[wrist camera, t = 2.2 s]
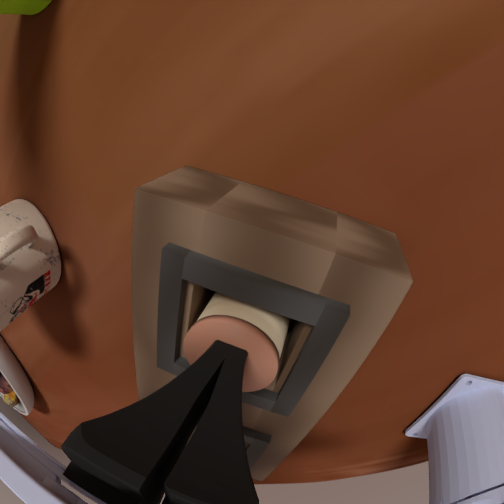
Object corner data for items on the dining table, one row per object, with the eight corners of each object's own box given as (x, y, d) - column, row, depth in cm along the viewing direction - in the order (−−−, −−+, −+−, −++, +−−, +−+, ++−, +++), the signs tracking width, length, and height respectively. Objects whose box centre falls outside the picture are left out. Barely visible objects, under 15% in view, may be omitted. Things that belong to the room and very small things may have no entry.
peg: (306, 277, 15) (290, 345, 11) (283, 334, 17) (262, 402, 13) (229, 250, 16) (187, 307, 11) (216, 310, 18) (180, 370, 13)
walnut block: (395, 233, 14) (416, 290, 9) (274, 441, 25) (260, 486, 20) (186, 165, 15) (126, 192, 11) (165, 400, 26) (141, 440, 22)
